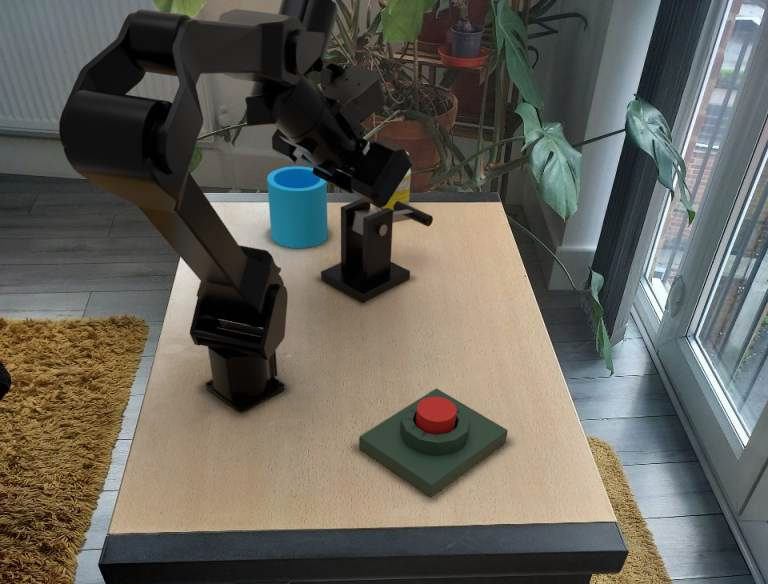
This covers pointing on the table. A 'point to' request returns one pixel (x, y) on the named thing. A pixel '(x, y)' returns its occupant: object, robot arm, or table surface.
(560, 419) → the table surface
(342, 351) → the table surface
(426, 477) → the switch
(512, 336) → the table surface
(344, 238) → the lever bracket
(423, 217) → the lever
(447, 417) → the button
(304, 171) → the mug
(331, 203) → the table surface
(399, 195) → the supplement bottle
